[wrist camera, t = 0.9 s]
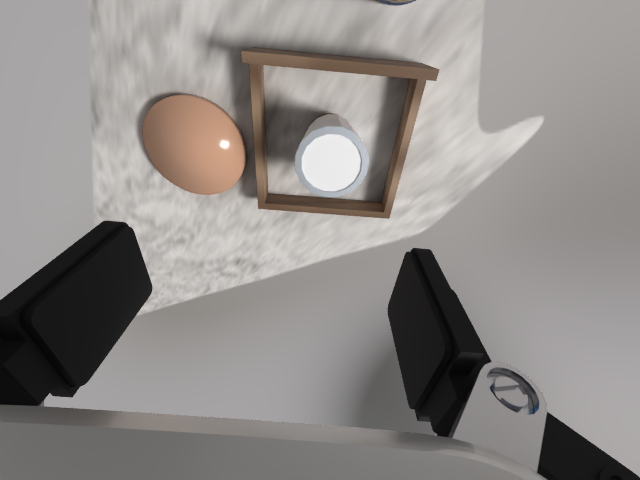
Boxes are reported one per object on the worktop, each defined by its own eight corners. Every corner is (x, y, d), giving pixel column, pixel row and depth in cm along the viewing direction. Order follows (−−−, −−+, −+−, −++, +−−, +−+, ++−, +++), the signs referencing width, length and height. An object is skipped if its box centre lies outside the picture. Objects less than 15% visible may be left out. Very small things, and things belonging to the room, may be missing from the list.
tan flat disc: (133, 89, 28) (127, 91, 28) (242, 98, 29) (239, 100, 28) (161, 187, 35) (157, 191, 34) (250, 194, 35) (248, 198, 35)
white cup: (305, 173, 34) (301, 202, 28) (294, 113, 30) (286, 132, 24) (363, 165, 33) (370, 193, 27) (359, 102, 29) (367, 120, 23)
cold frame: (253, 47, 26) (241, 50, 22) (422, 63, 27) (439, 69, 23) (262, 198, 36) (254, 219, 32) (385, 208, 36) (393, 230, 32)
